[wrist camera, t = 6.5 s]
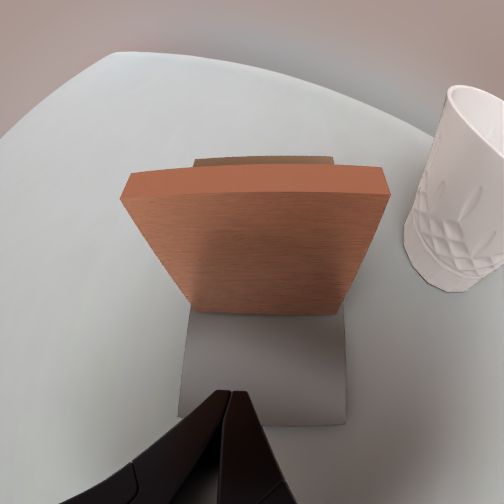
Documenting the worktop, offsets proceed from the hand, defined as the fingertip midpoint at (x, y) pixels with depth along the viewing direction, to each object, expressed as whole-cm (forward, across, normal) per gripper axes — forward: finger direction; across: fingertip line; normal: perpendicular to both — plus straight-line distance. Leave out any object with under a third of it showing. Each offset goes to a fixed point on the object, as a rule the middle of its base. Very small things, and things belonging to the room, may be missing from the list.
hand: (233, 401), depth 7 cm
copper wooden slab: (+9, -1, -1) cm, 9 cm away
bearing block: (+8, -1, +2) cm, 8 cm away
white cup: (+11, -13, -2) cm, 17 cm away
